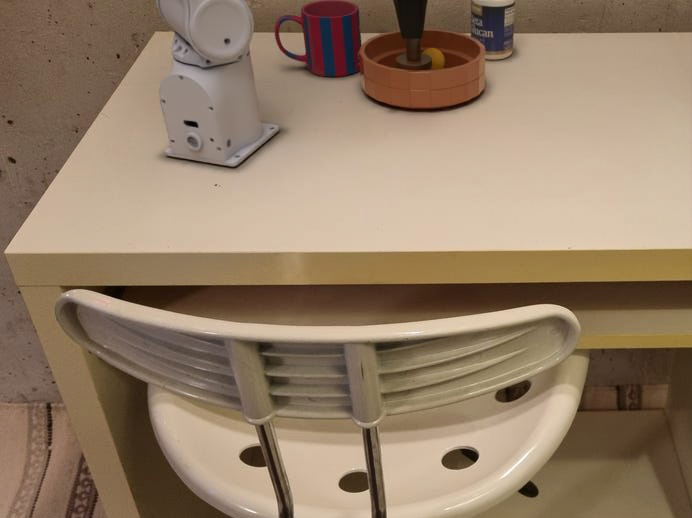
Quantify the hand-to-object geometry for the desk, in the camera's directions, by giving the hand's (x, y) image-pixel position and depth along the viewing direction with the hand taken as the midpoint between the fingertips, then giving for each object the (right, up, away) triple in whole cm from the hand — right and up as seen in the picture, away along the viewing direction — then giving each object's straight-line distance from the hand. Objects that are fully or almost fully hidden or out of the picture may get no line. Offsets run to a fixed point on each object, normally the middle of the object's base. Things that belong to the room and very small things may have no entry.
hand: (412, 34), depth 92 cm
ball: (+2, 0, +8) cm, 8 cm away
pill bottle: (+9, +4, +16) cm, 19 cm away
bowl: (+1, -3, +7) cm, 8 cm away
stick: (0, -3, +2) cm, 3 cm away
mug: (-12, +1, +11) cm, 17 cm away
